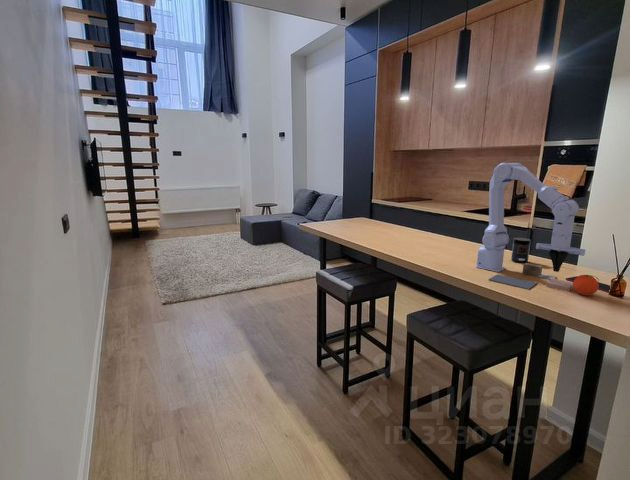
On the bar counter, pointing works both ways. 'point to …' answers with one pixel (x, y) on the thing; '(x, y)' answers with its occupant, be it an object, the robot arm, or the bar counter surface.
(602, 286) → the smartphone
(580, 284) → the clementine
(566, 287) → the tile
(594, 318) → the bar counter surface
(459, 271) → the bar counter surface
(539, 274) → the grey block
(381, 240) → the bar counter surface
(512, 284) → the mat
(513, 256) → the supplement container
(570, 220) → the robot arm
